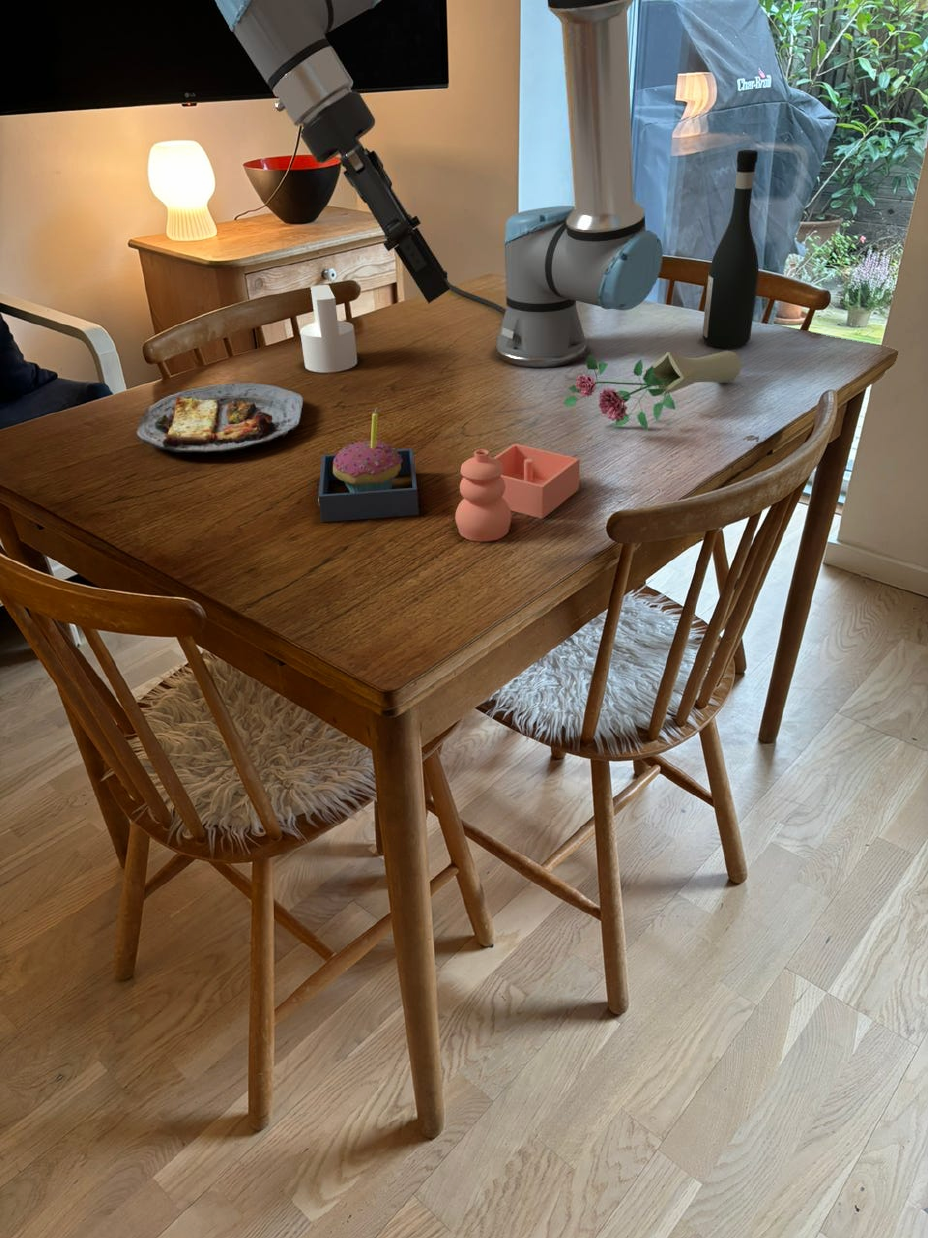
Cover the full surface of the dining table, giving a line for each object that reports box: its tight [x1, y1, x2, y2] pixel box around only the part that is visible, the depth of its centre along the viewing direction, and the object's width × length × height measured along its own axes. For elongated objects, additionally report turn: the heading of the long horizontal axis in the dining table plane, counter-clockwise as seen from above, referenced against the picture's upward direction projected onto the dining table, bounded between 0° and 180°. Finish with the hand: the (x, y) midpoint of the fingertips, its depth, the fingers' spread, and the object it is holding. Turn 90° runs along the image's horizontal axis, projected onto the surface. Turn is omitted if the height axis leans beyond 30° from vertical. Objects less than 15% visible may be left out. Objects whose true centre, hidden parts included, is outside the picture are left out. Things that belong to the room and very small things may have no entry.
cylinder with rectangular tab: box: [299, 284, 358, 374], centre depth 159 cm, size 9×9×12 cm
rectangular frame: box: [317, 448, 420, 523], centre depth 119 cm, size 12×12×4 cm
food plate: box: [135, 381, 304, 454], centre depth 140 cm, size 25×23×4 cm
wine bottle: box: [702, 149, 759, 349], centre depth 155 cm, size 8×8×30 cm
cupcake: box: [333, 407, 402, 493], centre depth 117 cm, size 9×8×12 cm
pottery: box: [454, 443, 581, 543], centre depth 113 cm, size 18×10×10 cm, turn 146°
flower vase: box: [563, 350, 742, 431], centre depth 136 cm, size 12×12×35 cm
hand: (438, 289), depth 107 cm, fingers open, 13 cm apart
